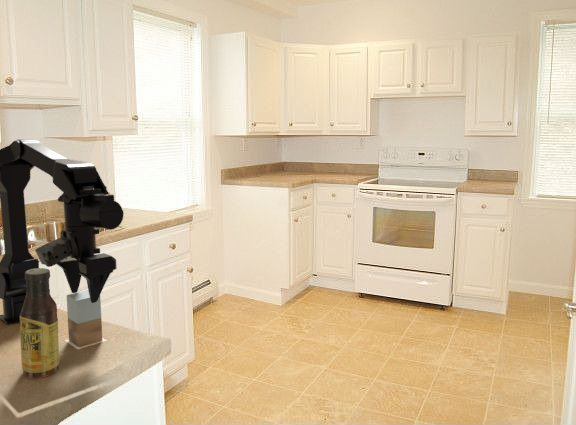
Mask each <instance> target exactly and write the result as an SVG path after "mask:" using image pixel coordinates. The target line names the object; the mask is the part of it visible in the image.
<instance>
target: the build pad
mask: <svg viewBox="0 0 576 425" xmlns="http://www.w3.org/2000/svg"><path fill="white" fill-rule="evenodd" d="M107 341H108V340H107V339H105V338H104V337H102V341H99V342H96V343H92V344H89V345H86V346H82V347H78V346H77V345H75V344H74V343H72V342H71V341H69V338H68V339H64V342H66V343H67V344H69V346H72V347H73V348H74V349H76V350H81V349H83V348H87V347H91V346H94V345H97V344H100V343H104V342H107Z"/></svg>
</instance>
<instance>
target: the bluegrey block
mask: <svg viewBox="0 0 576 425" xmlns="http://www.w3.org/2000/svg"><path fill="white" fill-rule="evenodd" d="M101 304H102V303H101V295H100V296H99V298H98V300H97V302H95V303H92V302H91V300H90V296H89V291H88V290H85V291H80V292H79V291H78V292H76V293H70V294H66V309H67V310H66V311H67V319H68V318H69V319H71V320H72V321H74V322H76V323H77V324H80V323H84V322H88V321H91V320H95V319H99V318H101V319H102V306H101Z"/></svg>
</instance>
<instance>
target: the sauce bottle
mask: <svg viewBox="0 0 576 425" xmlns="http://www.w3.org/2000/svg"><path fill="white" fill-rule="evenodd" d="M50 277H51V271H50V269H49V268H45V267H39V268H35V269H30V270H27V271H26V272H25V280H26V288H27V292H26V297H25V300H24V304H23V307H22V310H21V313H20V321H19V334H20V354H21V355H20V357H21V369H22V374H23V376H24V377H25V378H28V379H41V378H45V377H46V378H47V377H50V376H52V375H53V374H56V372H58V370H59V368H60V367H59V366H60V365H59V364H60V353H59V352H60V350H59V348H60V347H59V320H58V305H57V303H56V301H55V300H54V298H53V297H52V296H51V293H50V292H51V290H50Z"/></svg>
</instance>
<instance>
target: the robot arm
mask: <svg viewBox="0 0 576 425" xmlns="http://www.w3.org/2000/svg"><path fill="white" fill-rule="evenodd" d="M35 167H36V168H37V169H39V170H40V171H42V172H44V173H46V174H47V175H48V176H50V177H51V178H52V183H53V184H54V185H55V186H56V188H58V189H59V190H60V191H61V192H62V193H61V195H59V197H58V198H57V201H58V202H59V203H63V213H64V215H63V216H64V228H63V229H61V230H60V234H59V235H60V236H59V237H58V238H56V239H53V240H51V241H49V242H47V243H45V244H43V245H40V246H39V247H36V249H35V253H36V255H37V256H38V258H35V257H34V256H33V255H32V254H31V253H30V251H29V240H28V230H27V229H28V227H27V215H26V204H25V202H26V201H25V189H26V188H27V186H28V185H29V182H30V180H31V172H32V171H31V170H33V169H34V168H35ZM107 189H108V188H107V186H106V185H105V183H104V182H103V180H102V178H101V175H100V174H99V172H98V171H97V168H96V166H95V165H94V164H93V163H90V162H88V161H87V162H86V161H83V160H76V159H69V158H67V157H65V156H63V155H61V154H59V153H58V152H56V151H54V150H52V149H50V148H49V147H47V146H45V145H44V144H42V143H41V142H40V141H39V140H37V139H30V138H29V139H23V138H22V139H16V140H13V141H12V142H11V143H10V144H9V145H7V146H5V147H2V148H0V208H1V221H2V222H1V223H2V233H3V245H4V254H3V256H2V258H1V259H0V299H1V300H2V310H3V314H0V320H1V321H3V322H4V323H5V324H7V325H9V324H13V323H17V322H19V323H20V313H21V310H22V307H23V304H24V300H25V297H26V292H27V288H26V280H25V272H26V271H27V270H30V269H35V268H40V263H41V265H44V266H46V267H48V268H50V267H53V266H55V265H57V266H58V267H59V268H61V269H62V271H63V273H64V276H65V278H66V281H67V284H68V286H69V289H70V292H71V294H74V293H78V292H79V291H78V290H79V288H80V285H81V280H82V277H83V279H85V280H86V284H87V285H86V286H87V291H89V296H90V300H91V302H92V303H95V302H97V300H98V298H99V296H100V297H101V294H102V291H103V290H104V287H105V285H106V283H107V281H108V278H110V275H111V274H112V273H113V272H114V271H115V270H117V259H116V258H115V257H113V256H112V255H109V254H107V253H104V252H103V253H101V248H99V247H97V240H96V238H97V237H96V235H99V234H100V229H102V230H103V229H104V230H110V231H111V230H114V229H116V228H118V227H120V225H121V224H122V221H123V220H124V215H125V213H124V210H123V208H122V205H121V204H120V203H119V202H118V201H116V200H115V194H112V193H109V192H108V190H107ZM39 261H40V262H39Z"/></svg>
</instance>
